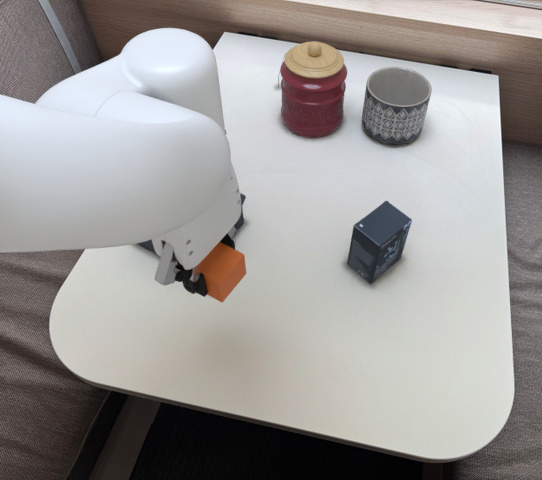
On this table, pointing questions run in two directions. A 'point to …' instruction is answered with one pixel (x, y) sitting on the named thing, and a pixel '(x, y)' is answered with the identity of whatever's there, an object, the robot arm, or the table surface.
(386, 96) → the planter
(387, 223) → the box
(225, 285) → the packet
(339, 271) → the table surface
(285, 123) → the kitchen canister
